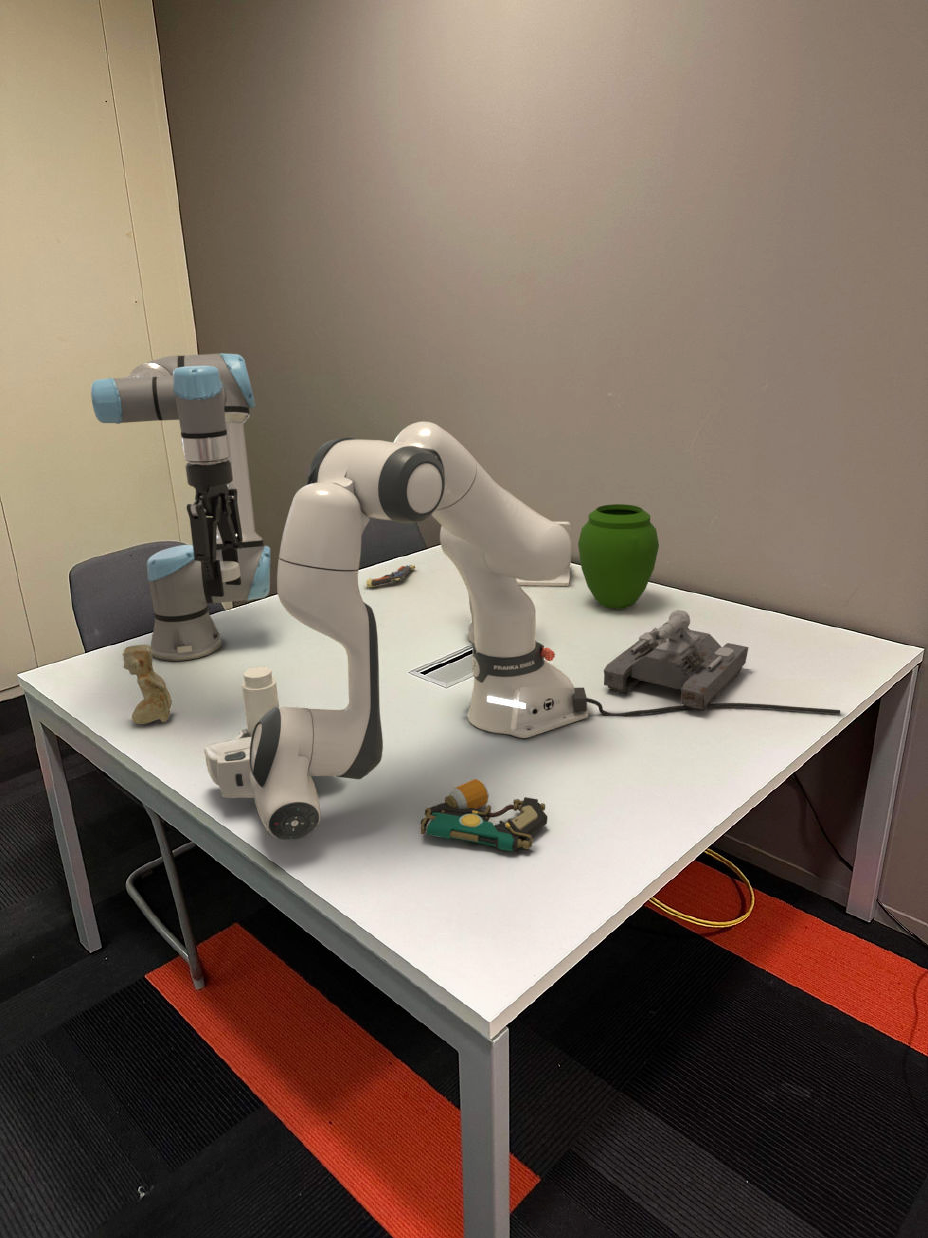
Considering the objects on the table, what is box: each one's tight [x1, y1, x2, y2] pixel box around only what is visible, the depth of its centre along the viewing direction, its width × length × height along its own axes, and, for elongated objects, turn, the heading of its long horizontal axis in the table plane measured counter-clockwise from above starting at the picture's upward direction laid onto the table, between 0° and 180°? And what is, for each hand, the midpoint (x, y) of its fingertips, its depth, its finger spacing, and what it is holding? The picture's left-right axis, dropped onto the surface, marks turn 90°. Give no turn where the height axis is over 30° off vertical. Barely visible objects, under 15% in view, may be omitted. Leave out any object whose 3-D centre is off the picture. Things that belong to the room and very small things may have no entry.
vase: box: [577, 503, 660, 610], centre depth 210 cm, size 20×20×24 cm
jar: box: [241, 666, 280, 737], centre depth 143 cm, size 6×6×17 cm
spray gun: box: [420, 778, 548, 852], centre depth 125 cm, size 4×17×15 cm
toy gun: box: [365, 564, 417, 588], centre depth 239 cm, size 3×19×10 cm
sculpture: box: [122, 644, 173, 725], centre depth 159 cm, size 6×7×15 cm
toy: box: [603, 609, 749, 711], centre depth 169 cm, size 25×20×15 cm
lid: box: [220, 561, 240, 582], centre depth 152 cm, size 6×6×2 cm
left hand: (225, 589), depth 153 cm, fingers closed on lid, 6 cm apart
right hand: (264, 729), depth 144 cm, fingers closed on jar, 5 cm apart
